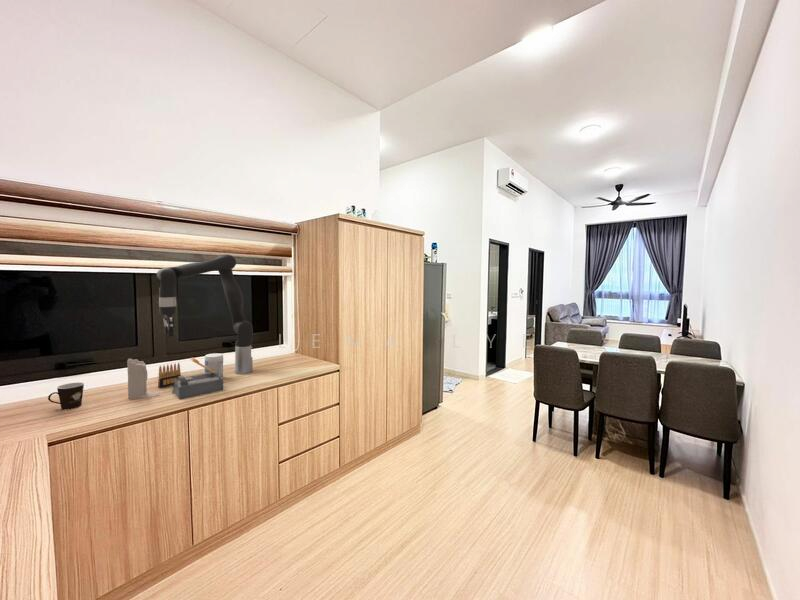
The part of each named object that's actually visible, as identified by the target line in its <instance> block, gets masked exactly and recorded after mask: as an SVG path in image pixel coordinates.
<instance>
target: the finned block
mask: <svg viewBox="0 0 800 600" xmlns="http://www.w3.org/2000/svg"><path fill="white" fill-rule="evenodd" d="M213 371H215V370H213ZM221 391H224V378H221V377H219V373H218V372H217V373H215V374H214V373H212V372H209V373H205V372H204V373H197V374H192V375H187V376H185V375H181V376H178V380H174V381H173V385H172V392H173V394H174V395H175V396H176V397H177V399H178V400H183V399H189V398H192V397H197V396H202V395H207V394H212V393H218V392H221Z"/></svg>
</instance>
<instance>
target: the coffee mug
mask: <svg viewBox="0 0 800 600" xmlns="http://www.w3.org/2000/svg"><path fill="white" fill-rule="evenodd" d="M84 385H85V383H84V382H80V381H79V382H70V383H69V382H68V383H64V384H60V385H58V386H57V387H56V389H57V392H56V391H54V392H51V393H50V394H48V396H47V400H48V401H49V402H50V403H52V404H58V405H60V408H61V410H62V411H63V410H65V411H67V410H73V409H78V408H80V407H81V406H82V404H83V395H84ZM55 394H56V395H58V398H59V401H54V400H52V399H51V396H53V395H55Z"/></svg>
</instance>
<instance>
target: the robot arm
mask: <svg viewBox="0 0 800 600" xmlns="http://www.w3.org/2000/svg"><path fill="white" fill-rule="evenodd" d="M236 264H237V259H236V258H235V257H234V256H233V255H231V254H219V255H217V256H216V258H214V259H211V260H205V261H199V262H198V261H196V262H190V263H185V264H179V265H177V266H176V265H175V266H170V267H163V268H161V269H159V270H158V271H157V272H156V278H157V279H159V282H160V287H159V289H158V297H159V298H158V299H159V300H158V306H159V308H158V311H159V315H161V316H162V317H163V326H164V332H165V335H167V336H168V337H174V329H175V317H173V315H176V314H178V313H177V312H178V311H177V299H176V290H175V289H176V288H175V287H176V284H177V283H176V282H177V279H182V278H183V279H184V278H188V277H189V278H190V277H194V276H198V275H201V274H207V273H210V272H214V271H218V273H219V276H220V279H221V284H222V287H223V292H224V295H225V300H226V303H227V306H228V308H229V309H228V310H229V313H230V317H231V321H232V322H231V323H232V328H233V331H234V332H235V333H236V334H237V337H236V338H237V340H236V341H235V343H234V346H235V347H234V349H235V350H234V352H235V353H234V354H235V355H234V359H235V360H234V362H235V363H234V365H235V372H234V374H237V375H246V374H249V373H252V372H254V371H253V366H254V365H253V357H252V342H253V336H254V335H253V334H254V330H253V329H254V327H253V324H252V322H250V321H248V320H247V319H246V317H245V315H244V296H243V292H242V290H241V287H240V285H239V284H238V282H237V280H236V279H235V276H234V274H233V269H234V268H235V267H236V266H237V265H236Z"/></svg>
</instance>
